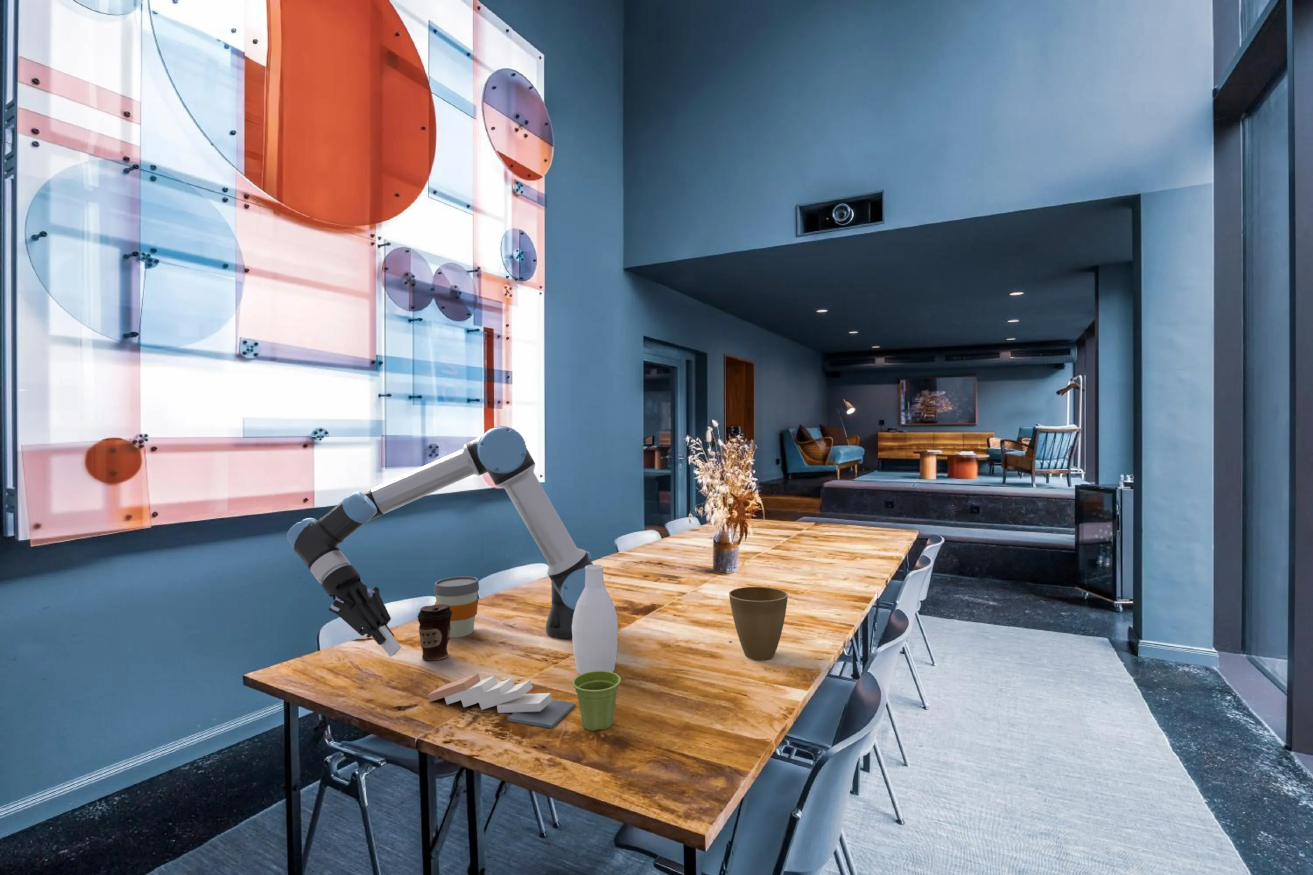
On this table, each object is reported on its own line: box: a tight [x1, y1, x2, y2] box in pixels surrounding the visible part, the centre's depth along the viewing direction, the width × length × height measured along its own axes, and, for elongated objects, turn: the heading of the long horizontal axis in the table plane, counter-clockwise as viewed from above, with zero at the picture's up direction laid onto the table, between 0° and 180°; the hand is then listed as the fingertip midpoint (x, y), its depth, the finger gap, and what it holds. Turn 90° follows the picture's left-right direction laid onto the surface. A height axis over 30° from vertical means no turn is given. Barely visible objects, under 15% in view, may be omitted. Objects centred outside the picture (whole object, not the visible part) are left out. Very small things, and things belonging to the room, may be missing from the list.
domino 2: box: [444, 675, 498, 706], centre depth 126 cm, size 2×5×10 cm
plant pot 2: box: [728, 586, 789, 661], centre depth 151 cm, size 15×15×16 cm
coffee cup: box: [417, 604, 452, 661], centre depth 153 cm, size 9×8×13 cm
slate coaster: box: [507, 699, 576, 729], centre depth 121 cm, size 10×10×1 cm
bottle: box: [571, 564, 619, 676], centre depth 142 cm, size 11×11×25 cm
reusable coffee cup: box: [433, 575, 480, 639], centre depth 172 cm, size 13×13×15 cm
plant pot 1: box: [572, 671, 622, 732], centre depth 116 cm, size 9×9×9 cm
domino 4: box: [478, 679, 534, 711], centre depth 123 cm, size 2×5×10 cm
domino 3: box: [460, 677, 515, 708], centre depth 125 cm, size 2×5×10 cm
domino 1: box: [427, 673, 481, 703], centre depth 128 cm, size 2×5×10 cm
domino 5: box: [496, 692, 553, 714], centre depth 122 cm, size 2×5×10 cm
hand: (395, 651), depth 133 cm, fingers closed
